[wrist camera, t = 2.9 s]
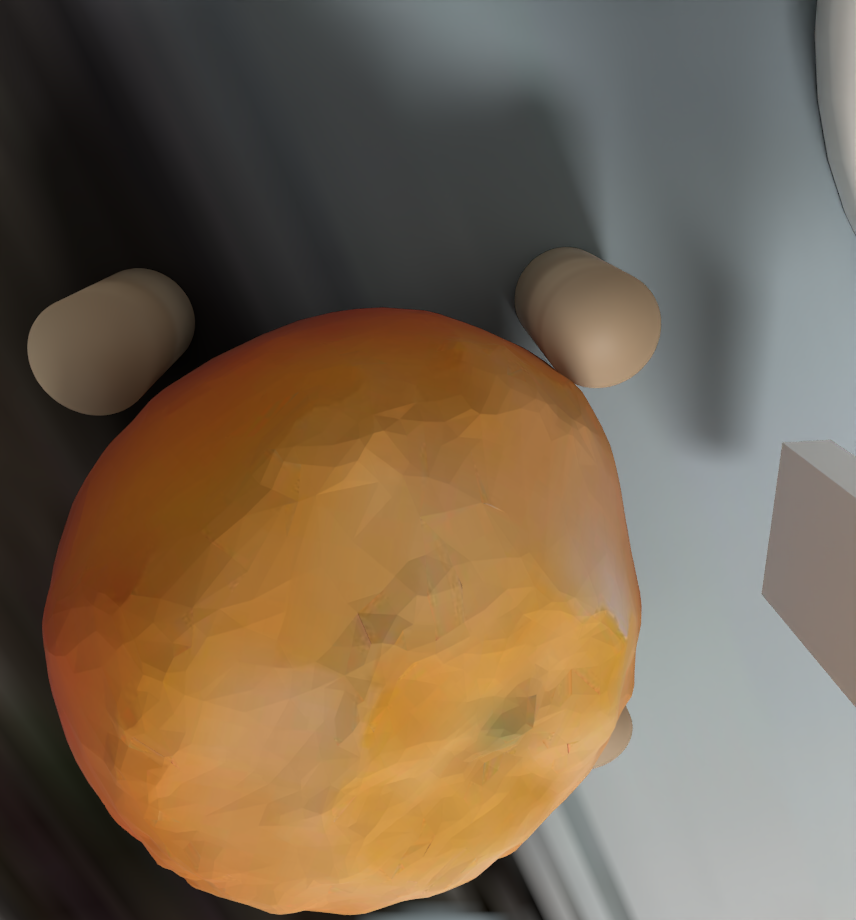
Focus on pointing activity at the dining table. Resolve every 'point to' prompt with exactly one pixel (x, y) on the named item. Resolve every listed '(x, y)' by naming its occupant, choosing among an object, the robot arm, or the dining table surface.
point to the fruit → (345, 611)
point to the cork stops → (173, 324)
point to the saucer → (838, 93)
